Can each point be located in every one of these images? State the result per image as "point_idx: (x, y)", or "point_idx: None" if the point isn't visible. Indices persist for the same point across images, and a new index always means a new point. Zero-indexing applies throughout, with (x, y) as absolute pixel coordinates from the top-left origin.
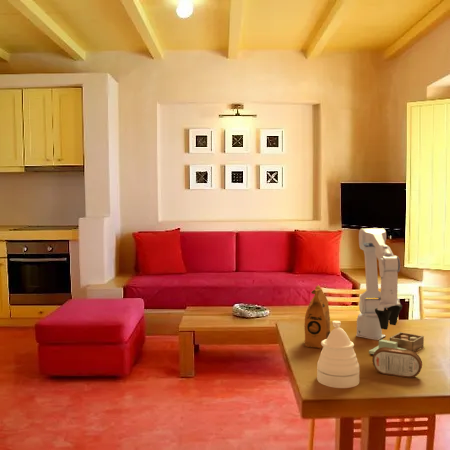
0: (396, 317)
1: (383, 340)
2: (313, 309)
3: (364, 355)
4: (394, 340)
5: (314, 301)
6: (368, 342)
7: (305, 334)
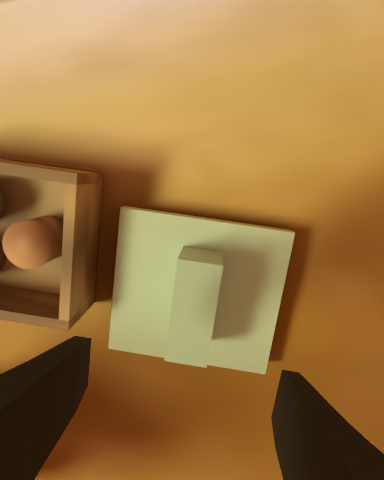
0: (43, 381)
1: (182, 345)
2: None
3: None
4: (75, 295)
5: None
6: None
7: None
